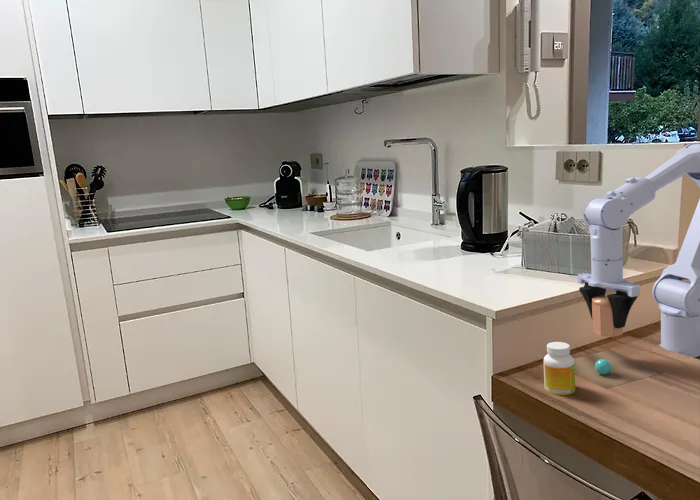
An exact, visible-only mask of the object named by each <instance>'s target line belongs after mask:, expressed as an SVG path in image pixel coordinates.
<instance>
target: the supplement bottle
mask: <svg viewBox="0 0 700 500" xmlns="http://www.w3.org/2000/svg"><path fill="white" fill-rule="evenodd" d="M546 353H547V354H546V355H545V356H544V357H543V381H544V383H543V384H544V390H545V391H546V392H548V393H549V394H552V395H558V396H566V395H572V394H574V393H575V392H576V373H575V362H574V357H573V355H571V346H570V344H568V343H566V342H565V341H564V342H562V341H553V342H548V343H547V344H546Z"/></svg>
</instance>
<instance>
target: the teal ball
mask: <svg viewBox="0 0 700 500" xmlns="http://www.w3.org/2000/svg"><path fill="white" fill-rule="evenodd" d="M595 369H596V371H597V372H598V373H599V374H602V375H606V374H609V373H610V372H611V370H612V365H611V363H610V362H609V361H608V360H606V359H600V360H598V361H597V362H596V363H595Z"/></svg>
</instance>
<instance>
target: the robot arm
mask: <svg viewBox="0 0 700 500" xmlns="http://www.w3.org/2000/svg"><path fill="white" fill-rule="evenodd" d="M684 175H687V177H689V178H690V180H691V181H693V183H694V184H695V185H696V186H698V187H699V188H700V143H696V142H695V143H694V142H693V143H688V144H686V145H685V146H684V147H683V148H680V149H678V150H676V152H675V154H674V155H673V156H672V157H671V158H669V159H668V160H666V161H665V162H664V163H663V164H661V165H660V166H658V167H656V168H655V170H653V171H652V172H651V173H649V174H648V175H646V176H645V177H642V176H634V177H633V176H631V177H627V178H625V180H624V181H625V183H624V184H622V185H620V186H619V187H617V188H616V189H614V190H609V191H607V192H606V193H605V194H606V195H605V196H604V197H601V198H594V199H593V200H591V201H590V202H589V203H588V204H587V206H586V208H585V211H584V212H583V213H582V216H583V217H582V218H583V220H584V221H585V223H586V224H587V226H588V233H590V263H591V264H590V265H591V266H590V269H591V273H587V272H582V273H577V283H578V284H582V285H583V284H584V285H583V286H580V287H579V289H578V290H579V293H580V294H581V295H582V297H583V299H584V301H585V303H586V306H587V308H588V311H589V314H590V317H591V319H592V298H593V297H595V296H601V295H607V298H608V300H609V302H610V305H611V308H612V315H613V324H614V328H617V329H618V328H622V327H623V328H625V327H626V323H627V320H628V317H629V313H630V310H631V309H632V306H633V305H634V303H636V300H637V299H638V296H641V285H639V284H635V283H633V282H631V281H629V280H626V279H625V278H624V266H623V265H624V263H623V261H624V260H623V255H624V254H623V250H624V249H623V227H625V225H627V223H628V222H629V219H630V217H631V216H632V215H633V214H634V213H635V212H637V211H638V210H640V209H642V208H644V207H645V206H646V205H647V204H650V203H651V202H653V200H655V198H656V192H657V191H658V190H660V189H662V188H664V187H666V186H667V185H669V184H671V183H672V182H675V181H676V180H678V179H680V178H682V177H683V176H684ZM689 281H690V282H689ZM607 291H613V292H615V293H610V294H606V292H607ZM651 293H652V298H653V300H654V301H655V302H656V304H658V309H660V344H658V346H659V347H661V348H662V349H665V350H667V351H669V352H673V353H679V354H681V355H684V356H685V355H686V356H688V357H690V358H693V359H694V358H699V357H700V198H699V200H698V202H697V205H696V208H695V210H694V212H693V216H692V219H691V221H690V223H689V226H688V229H687V230H686V235H685V236H684V239H683V242H682V245H681V248H680V249H679V253H678V255H677V258H676V261H675V262H674V263H673V264H671V265H669V266H668V267H665V268H664V269H663V270H662V273H661V275H660V277H659V278H658V279H657V280H656V281H655V282H654V284H653V286H652V291H651Z"/></svg>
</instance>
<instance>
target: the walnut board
mask: <svg viewBox="0 0 700 500" xmlns="http://www.w3.org/2000/svg"><path fill="white" fill-rule="evenodd" d="M573 358H574V357H573ZM600 359H606V360H608V361H609V362H610V363H611V365H612V370H611V372H610V373H609V374H606V375H602V374H599V373H598V372H597V371H596V369H595V363H596V362H597V361H598V360H600ZM574 362H575V375H579V376H580V377H582V378H584V379H586V380H587V381H588V380H589V381H590V382H593V383H595V384H597V385H599V386H600V387H603V388H604V389H609V388H613V387H617V386H620V385H624V384H627V383H631V382H635V381H638V380H642V379H646V378H650V377H653V376H657V375H661V374H665V373H666V371H664V370H661V369H658V368H656V367H654V366H651V365H649V364H646V363H643V362H641V361H638V360H636V359H634V358H631V357H628V356H626V355H624V354H621V353H618V352H616V351H614V350H611V349H608V350H604V351H599V352H595V353H590V354H587V355H583V356H579V357H576V358H574Z"/></svg>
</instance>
